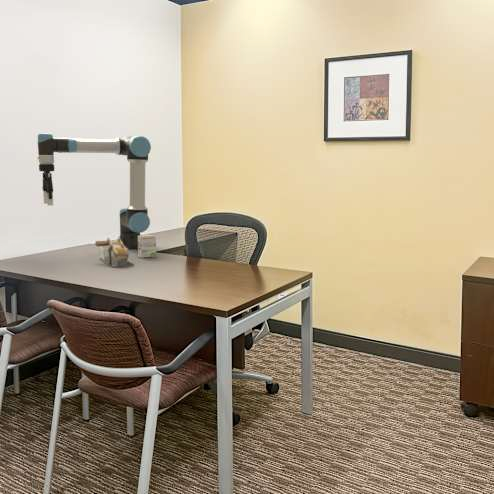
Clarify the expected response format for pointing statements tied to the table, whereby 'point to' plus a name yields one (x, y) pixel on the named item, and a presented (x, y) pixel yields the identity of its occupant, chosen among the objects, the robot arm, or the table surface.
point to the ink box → (147, 246)
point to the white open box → (105, 254)
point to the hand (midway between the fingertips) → (48, 204)
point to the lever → (114, 248)
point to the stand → (117, 262)
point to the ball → (121, 250)
